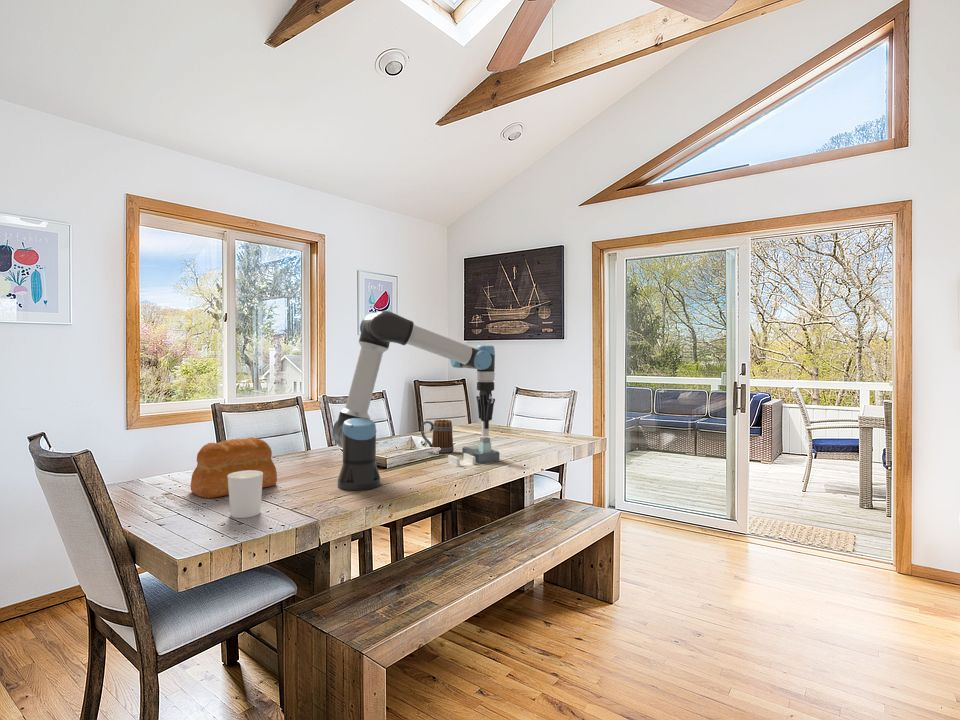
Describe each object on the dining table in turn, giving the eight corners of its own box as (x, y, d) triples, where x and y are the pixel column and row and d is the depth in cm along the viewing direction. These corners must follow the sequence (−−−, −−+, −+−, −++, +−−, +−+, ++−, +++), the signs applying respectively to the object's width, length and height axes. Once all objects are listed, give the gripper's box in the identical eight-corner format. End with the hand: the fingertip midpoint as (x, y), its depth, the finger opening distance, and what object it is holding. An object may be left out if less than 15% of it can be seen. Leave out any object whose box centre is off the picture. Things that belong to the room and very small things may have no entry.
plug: (482, 464, 232) (483, 438, 231) (478, 462, 235) (478, 437, 235) (491, 463, 234) (491, 438, 233) (486, 461, 237) (487, 436, 237)
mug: (455, 450, 260) (455, 419, 260) (451, 455, 250) (452, 422, 249) (423, 449, 262) (423, 418, 261) (418, 454, 251) (418, 421, 251)
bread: (186, 492, 185) (185, 441, 184) (259, 478, 205) (259, 432, 204) (206, 501, 175) (206, 448, 174) (281, 485, 195) (281, 437, 194)
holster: (456, 468, 223) (456, 459, 223) (447, 464, 231) (447, 454, 231) (475, 466, 227) (476, 457, 227) (466, 462, 235) (466, 453, 235)
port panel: (478, 466, 229) (478, 453, 228) (462, 458, 243) (462, 446, 243) (499, 463, 233) (499, 451, 233) (482, 456, 247) (482, 444, 247)
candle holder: (268, 508, 168) (267, 470, 167) (255, 519, 158) (255, 478, 157) (235, 508, 167) (235, 470, 167) (221, 519, 157) (221, 478, 157)
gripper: (500, 382, 229) (500, 437, 230) (486, 380, 241) (485, 433, 242) (485, 382, 226) (484, 439, 226) (471, 380, 237) (470, 434, 238)
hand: (485, 435), depth 234 cm, fingers closed
